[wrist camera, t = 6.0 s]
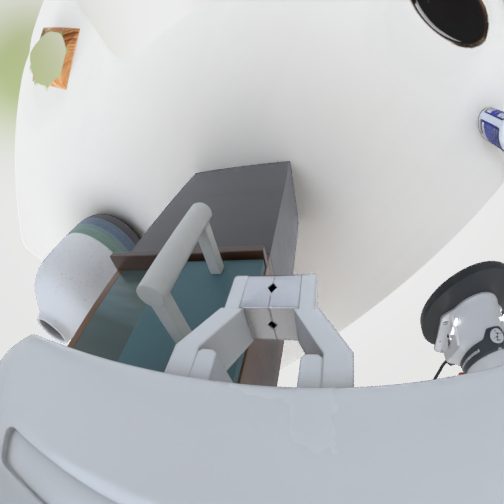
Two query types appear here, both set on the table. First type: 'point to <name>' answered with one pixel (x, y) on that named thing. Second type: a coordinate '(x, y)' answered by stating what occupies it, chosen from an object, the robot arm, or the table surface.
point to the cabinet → (230, 248)
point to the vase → (79, 273)
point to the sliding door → (183, 292)
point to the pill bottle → (492, 126)
